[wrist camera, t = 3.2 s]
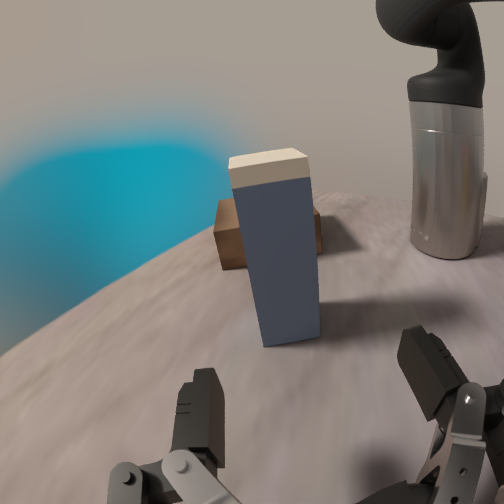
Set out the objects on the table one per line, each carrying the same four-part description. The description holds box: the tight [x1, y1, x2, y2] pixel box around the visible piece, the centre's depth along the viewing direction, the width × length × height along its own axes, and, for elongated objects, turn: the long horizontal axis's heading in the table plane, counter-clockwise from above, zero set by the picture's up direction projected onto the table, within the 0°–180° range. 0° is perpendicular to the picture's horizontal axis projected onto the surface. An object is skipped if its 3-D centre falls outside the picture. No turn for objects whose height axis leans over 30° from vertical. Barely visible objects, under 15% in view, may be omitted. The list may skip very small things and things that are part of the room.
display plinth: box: [214, 198, 322, 270], centre depth 38 cm, size 12×12×5 cm
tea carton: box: [228, 148, 320, 347], centre depth 21 cm, size 5×5×14 cm
